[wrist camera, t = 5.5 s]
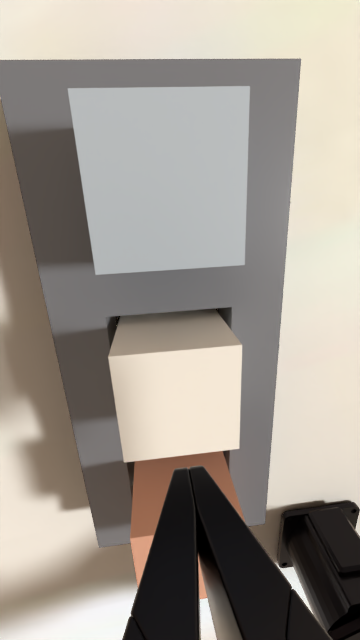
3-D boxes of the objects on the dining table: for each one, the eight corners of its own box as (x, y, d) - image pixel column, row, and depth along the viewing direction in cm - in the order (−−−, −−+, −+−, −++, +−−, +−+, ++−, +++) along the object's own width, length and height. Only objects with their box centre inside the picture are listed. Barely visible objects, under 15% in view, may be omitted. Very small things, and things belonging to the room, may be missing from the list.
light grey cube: (213, 250, 14) (244, 264, 10) (113, 256, 14) (95, 274, 9) (212, 136, 13) (250, 85, 8) (99, 139, 12) (67, 88, 7)
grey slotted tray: (250, 484, 22) (264, 523, 19) (106, 503, 21) (99, 547, 18) (268, 93, 13) (300, 59, 10) (28, 96, 12) (-8, 59, 10)
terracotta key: (218, 498, 19) (242, 592, 14) (143, 508, 18) (141, 608, 13) (218, 438, 17) (245, 522, 12) (135, 448, 16) (130, 538, 12)
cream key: (214, 385, 17) (239, 448, 12) (131, 394, 17) (124, 462, 12) (213, 307, 15) (242, 344, 11) (121, 314, 15) (108, 356, 10)
